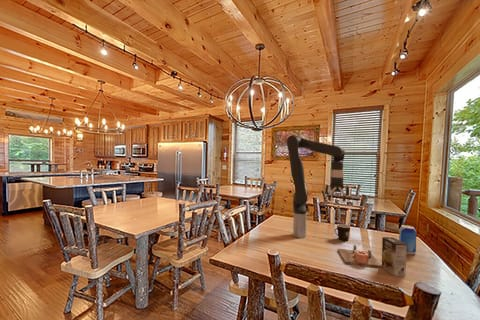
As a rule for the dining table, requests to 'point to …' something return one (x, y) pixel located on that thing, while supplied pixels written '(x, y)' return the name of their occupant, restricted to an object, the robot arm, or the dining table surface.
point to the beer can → (408, 238)
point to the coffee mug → (343, 232)
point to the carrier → (350, 258)
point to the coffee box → (394, 256)
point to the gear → (362, 257)
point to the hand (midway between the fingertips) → (336, 201)
